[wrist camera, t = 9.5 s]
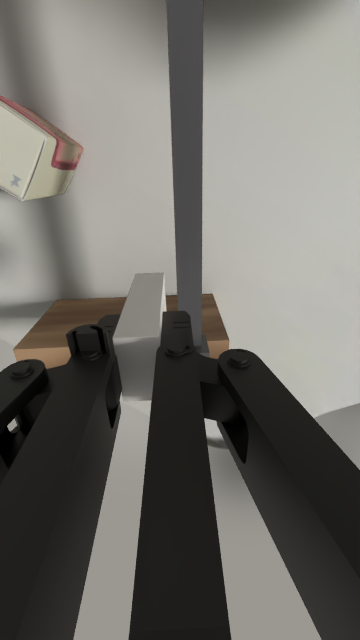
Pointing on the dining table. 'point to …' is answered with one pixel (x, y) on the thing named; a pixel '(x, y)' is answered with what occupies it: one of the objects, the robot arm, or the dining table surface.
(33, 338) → the rack
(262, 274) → the dining table surface
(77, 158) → the small box
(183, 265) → the tie bar
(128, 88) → the dining table surface
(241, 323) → the dining table surface
